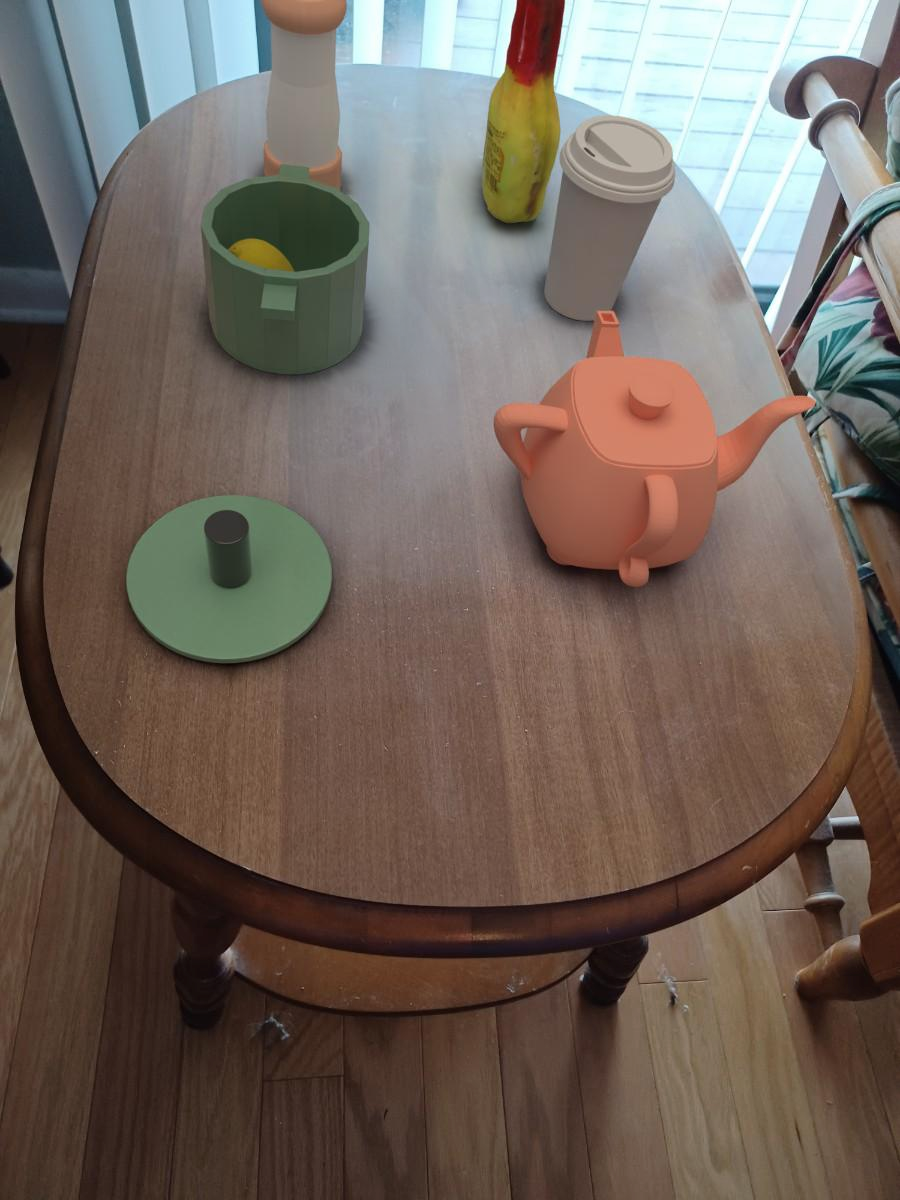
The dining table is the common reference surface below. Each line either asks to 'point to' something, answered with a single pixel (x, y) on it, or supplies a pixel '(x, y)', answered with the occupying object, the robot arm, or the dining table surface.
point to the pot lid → (229, 579)
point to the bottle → (524, 115)
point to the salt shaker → (304, 88)
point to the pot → (286, 272)
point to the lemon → (260, 254)
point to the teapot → (628, 458)
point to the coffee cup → (604, 210)
